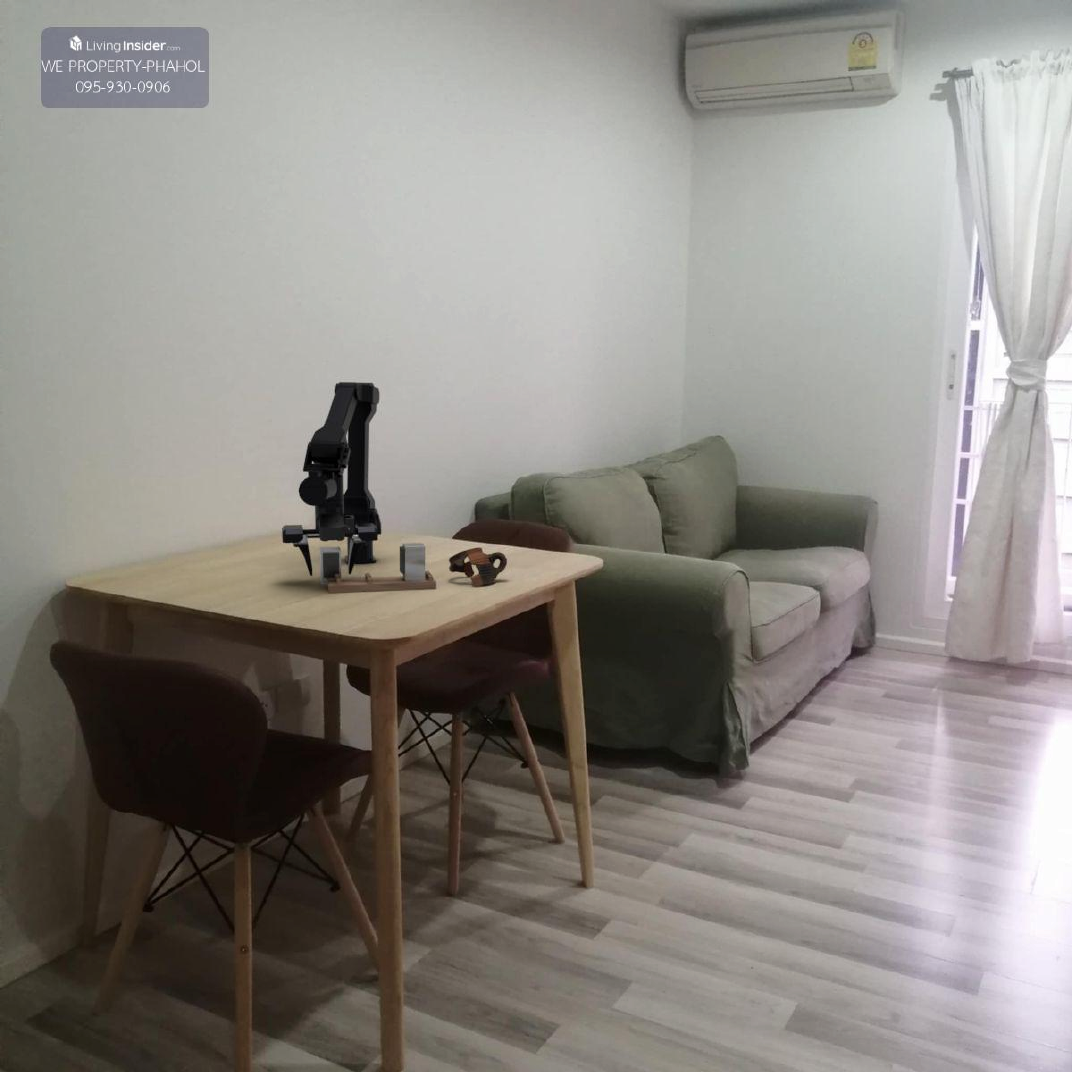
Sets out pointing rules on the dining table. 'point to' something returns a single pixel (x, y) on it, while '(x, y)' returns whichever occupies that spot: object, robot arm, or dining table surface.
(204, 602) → the dining table surface
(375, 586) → the rail
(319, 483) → the robot arm
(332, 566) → the block
